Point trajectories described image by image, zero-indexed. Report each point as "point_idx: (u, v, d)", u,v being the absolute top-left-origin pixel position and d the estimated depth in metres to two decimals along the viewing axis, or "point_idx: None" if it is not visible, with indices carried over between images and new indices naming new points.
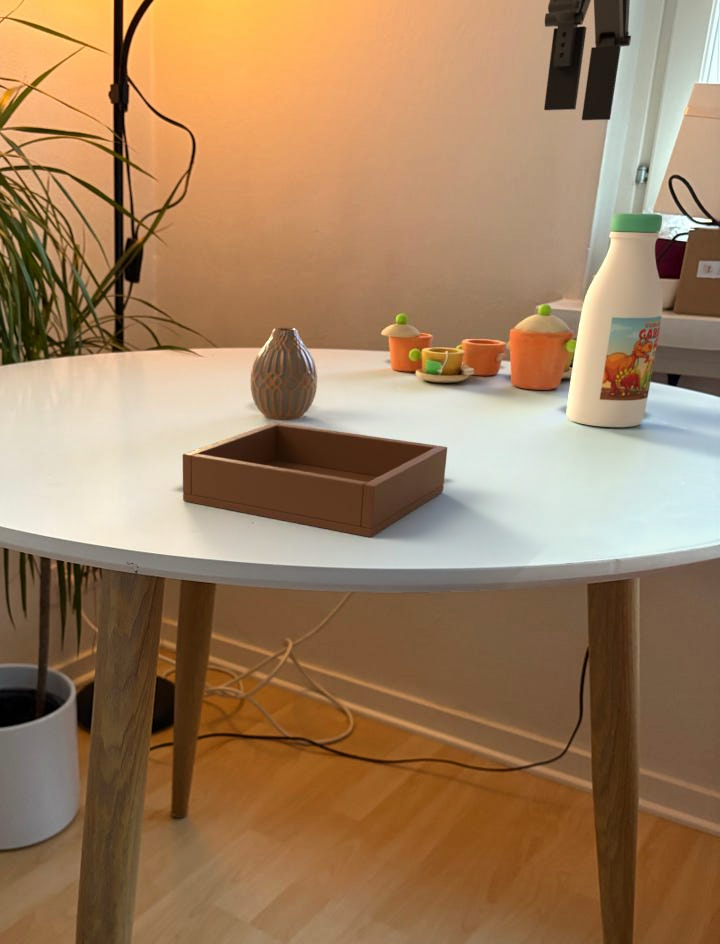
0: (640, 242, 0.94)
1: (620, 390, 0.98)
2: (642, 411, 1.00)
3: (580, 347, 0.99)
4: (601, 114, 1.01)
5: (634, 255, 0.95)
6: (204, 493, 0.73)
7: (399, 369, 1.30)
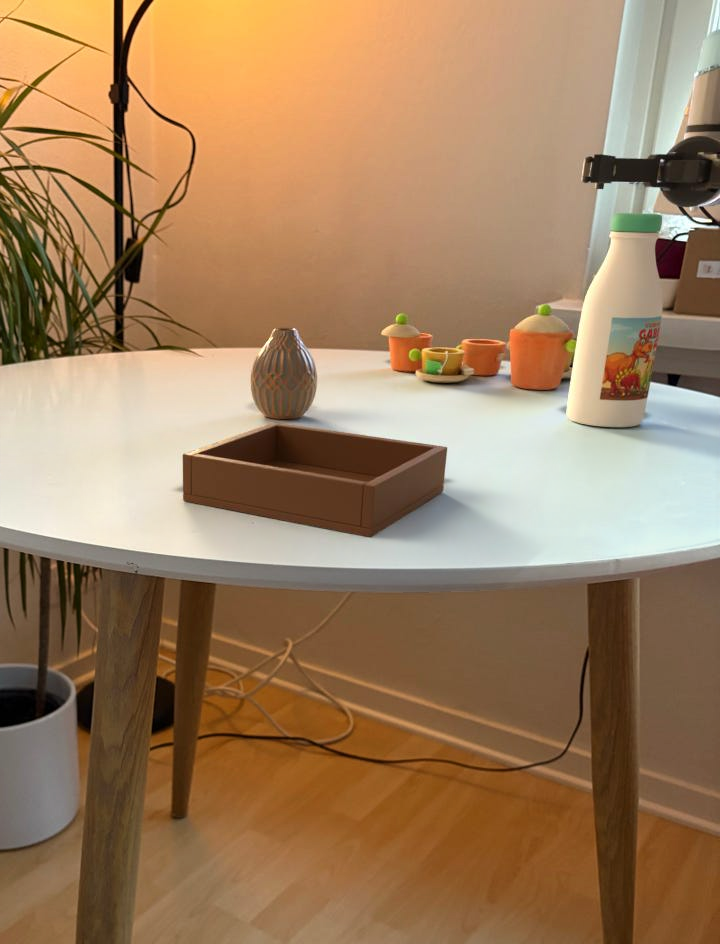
0: (640, 242, 0.94)
1: (620, 390, 0.98)
2: (642, 411, 1.00)
3: (580, 347, 0.99)
4: None
5: (634, 255, 0.95)
6: (204, 493, 0.73)
7: (399, 369, 1.30)
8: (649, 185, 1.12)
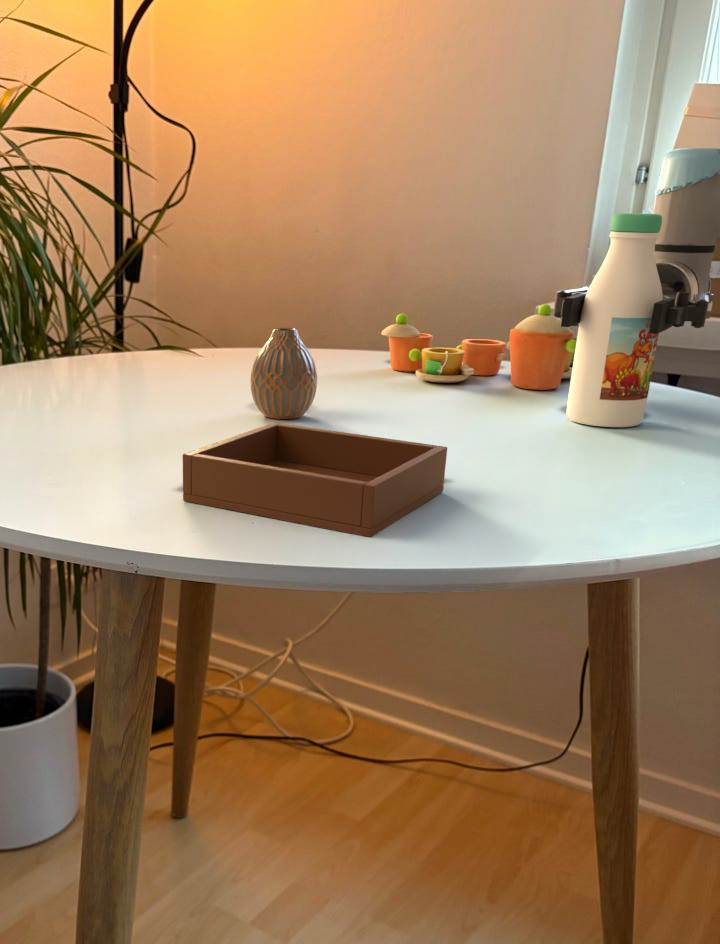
0: (640, 242, 0.94)
1: (619, 390, 0.98)
2: (642, 411, 1.00)
3: (580, 347, 0.99)
4: None
5: (634, 255, 0.95)
6: (204, 493, 0.73)
7: (399, 369, 1.30)
8: None
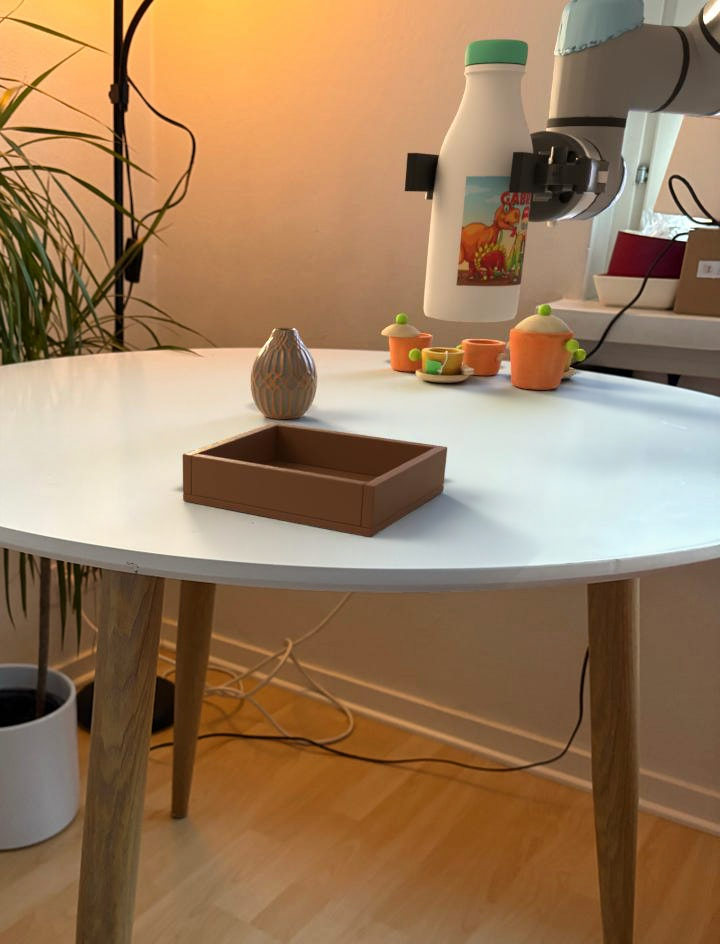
0: (499, 77, 0.74)
1: (480, 273, 0.78)
2: (512, 302, 0.80)
3: (433, 220, 0.79)
4: None
5: (492, 95, 0.74)
6: (204, 493, 0.73)
7: (399, 369, 1.30)
8: None
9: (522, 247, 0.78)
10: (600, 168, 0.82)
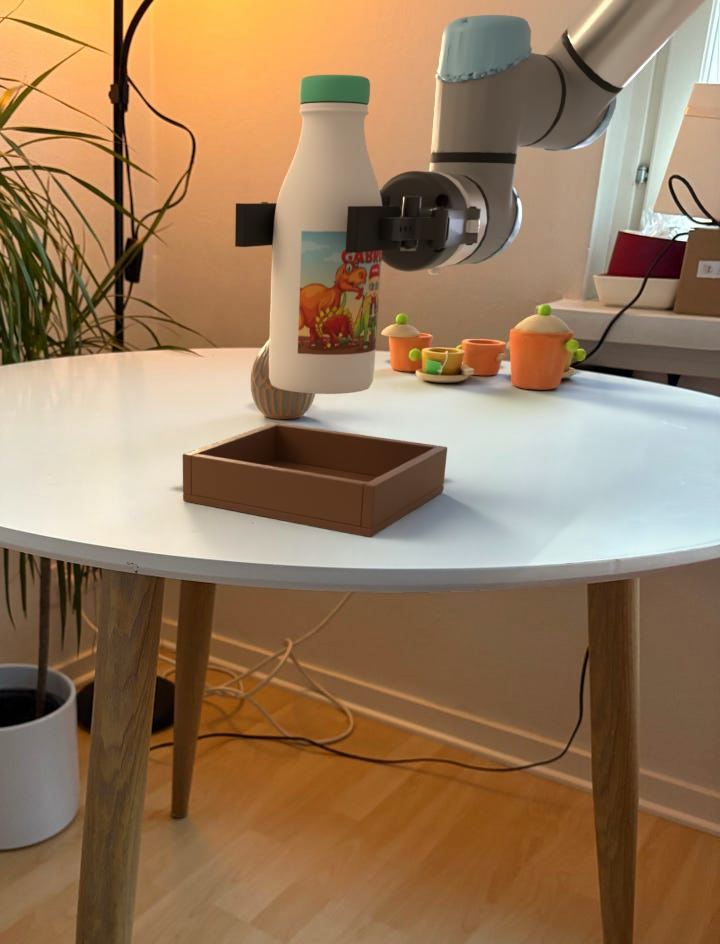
0: (335, 118, 0.64)
1: (323, 340, 0.68)
2: (364, 371, 0.70)
3: (272, 278, 0.69)
4: None
5: (329, 138, 0.64)
6: (204, 493, 0.73)
7: (399, 369, 1.30)
8: None
9: (372, 310, 0.69)
10: (468, 217, 0.73)
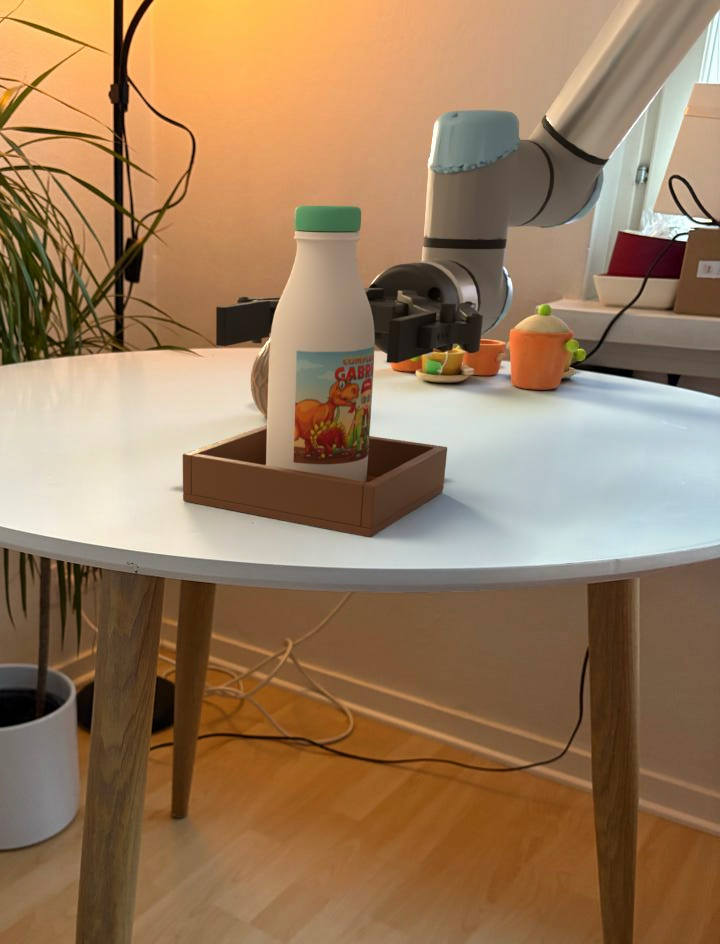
0: (328, 246, 0.67)
1: (318, 450, 0.71)
2: (357, 477, 0.73)
3: (269, 390, 0.72)
4: None
5: (322, 264, 0.67)
6: (204, 493, 0.73)
7: (399, 369, 1.30)
8: None
9: (365, 420, 0.72)
10: None
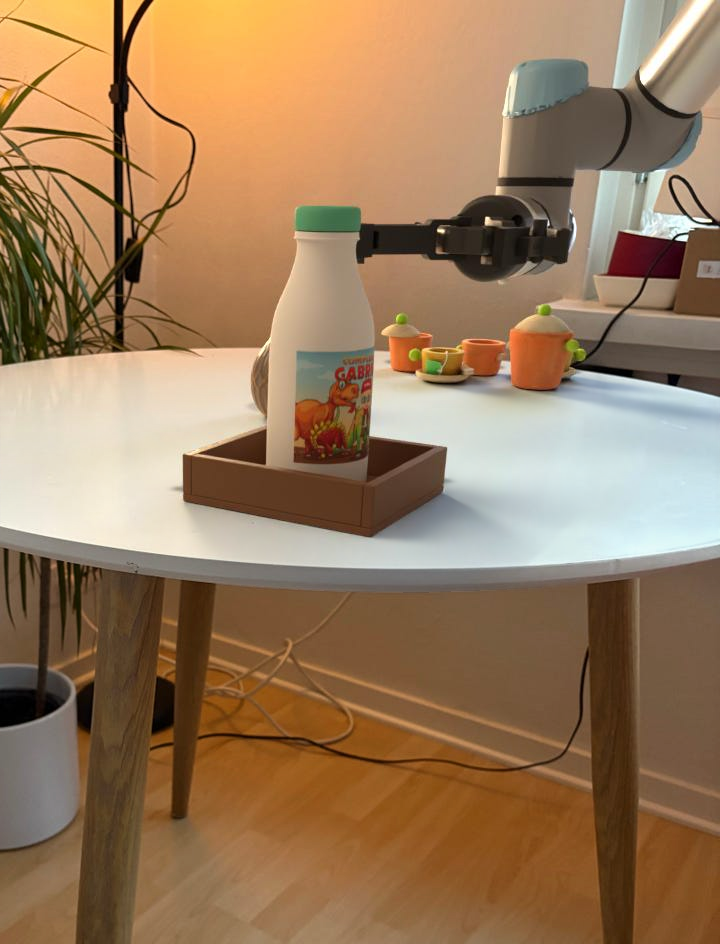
0: (328, 246, 0.67)
1: (318, 450, 0.71)
2: (357, 477, 0.73)
3: (269, 390, 0.72)
4: None
5: (322, 264, 0.67)
6: (204, 493, 0.73)
7: (399, 369, 1.30)
8: (427, 257, 0.89)
9: (365, 420, 0.72)
10: None
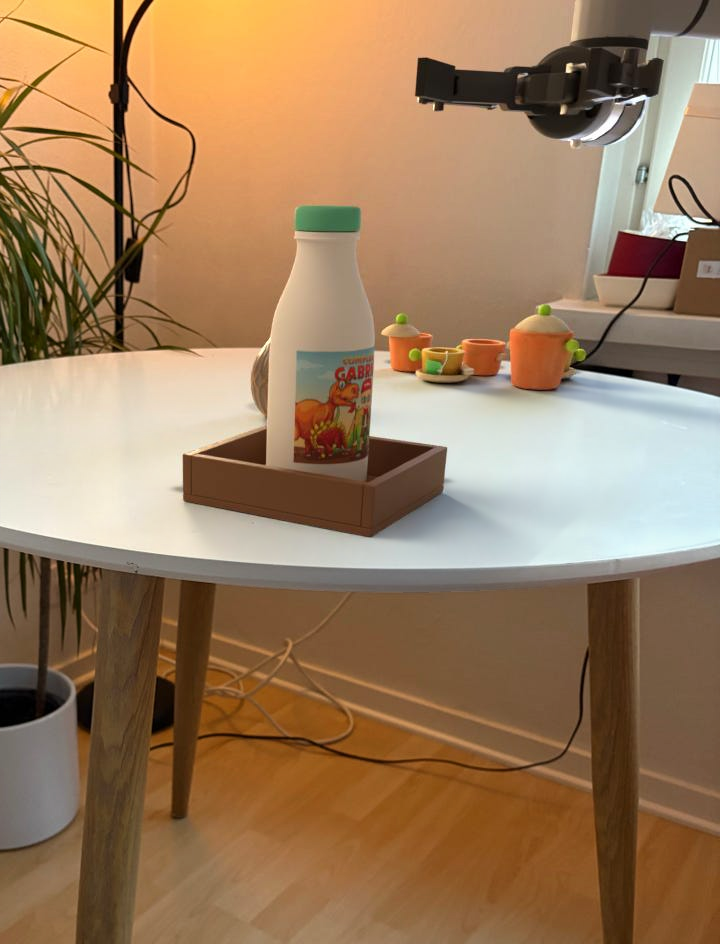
0: (328, 246, 0.67)
1: (318, 450, 0.71)
2: (357, 477, 0.73)
3: (269, 390, 0.72)
4: None
5: (322, 264, 0.67)
6: (204, 493, 0.73)
7: (399, 369, 1.30)
8: (506, 107, 0.87)
9: (365, 420, 0.72)
10: None
